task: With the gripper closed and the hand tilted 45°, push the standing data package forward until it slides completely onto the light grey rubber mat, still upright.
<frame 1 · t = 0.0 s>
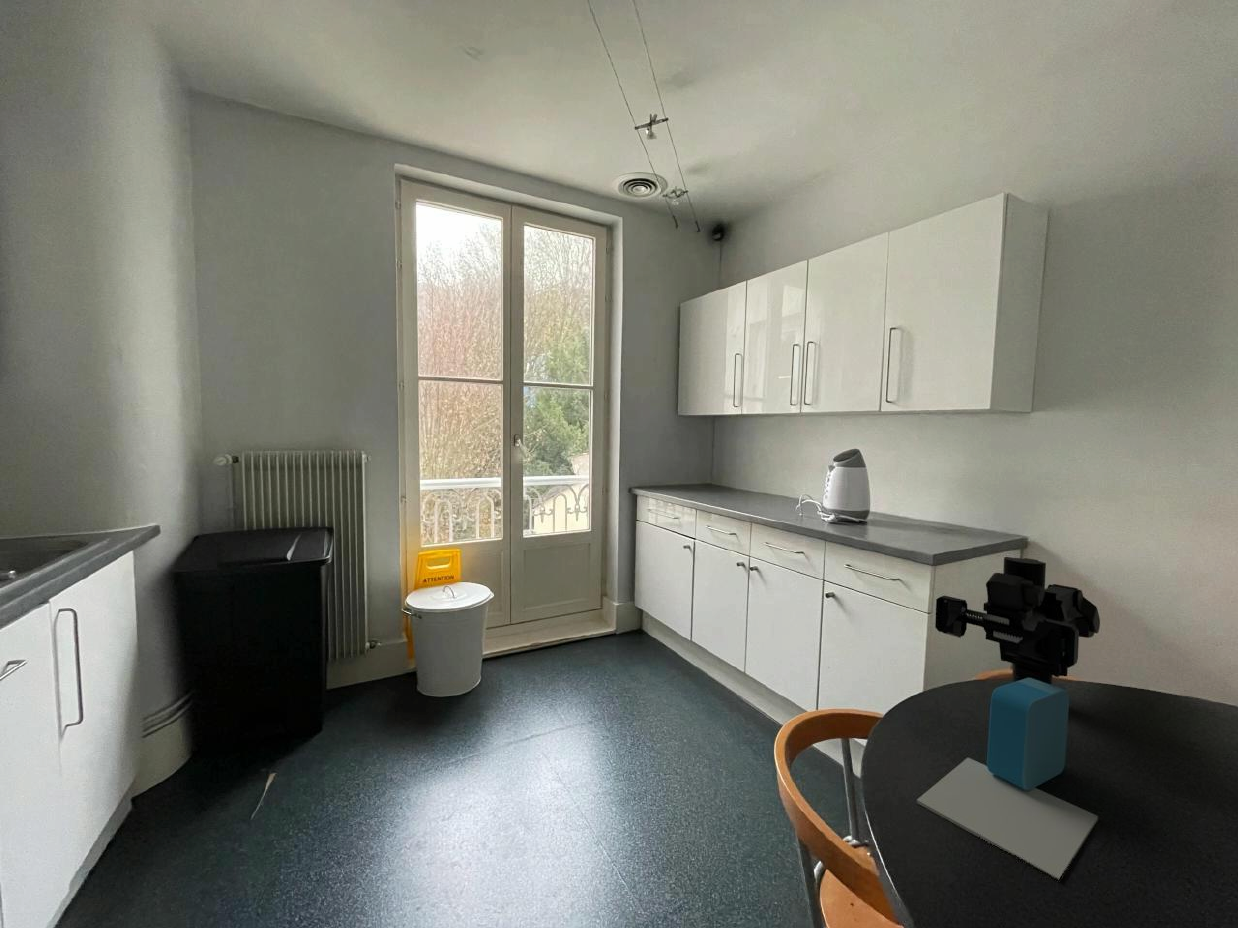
hand: (980, 638, 76), 17 cm above the table, tool horizontal, fingers open, 9 cm apart
mat: (1005, 810, 62), on the table
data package: (1025, 774, 69), on the table, touching mat
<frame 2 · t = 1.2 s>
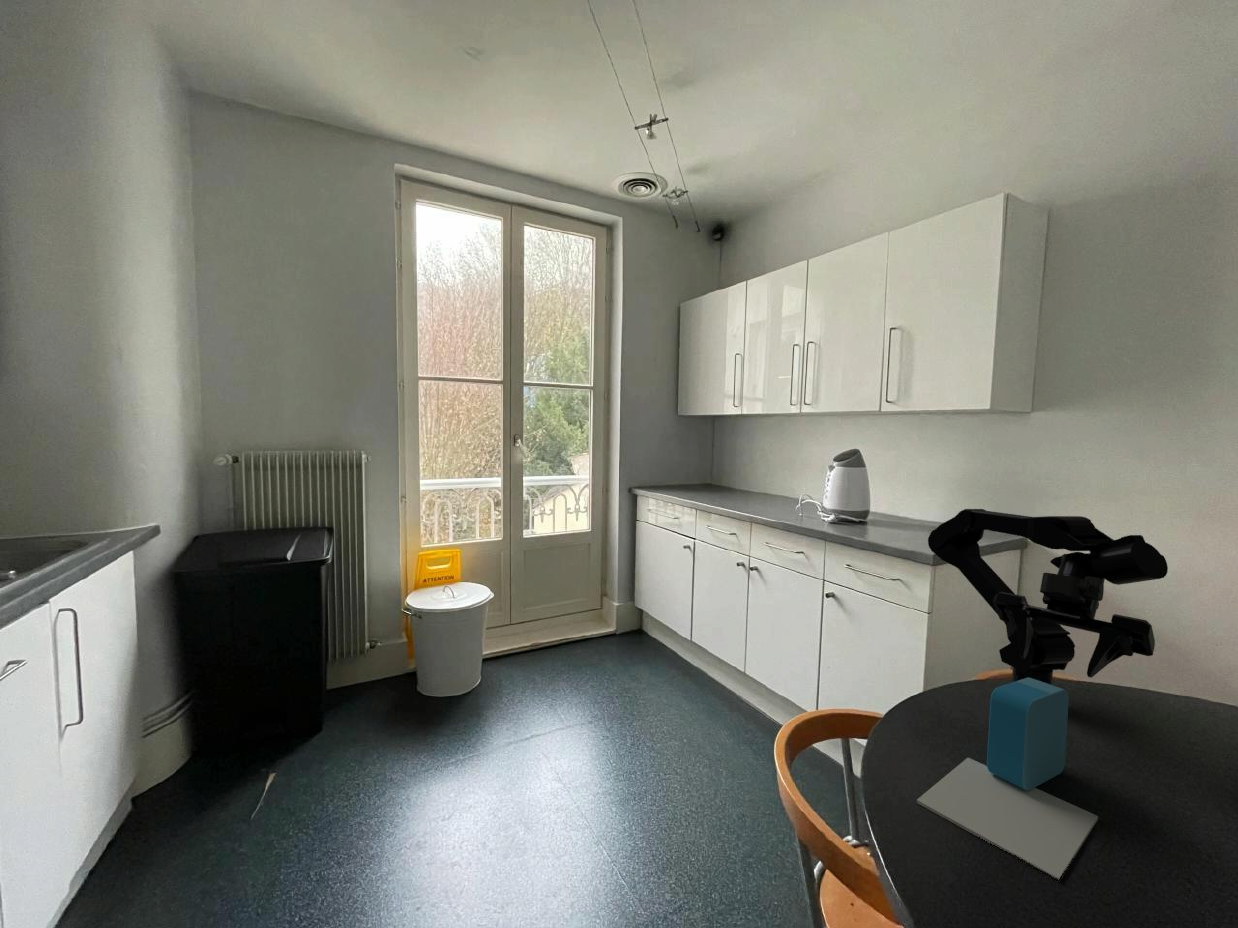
hand: (1054, 666, 76), 13 cm above the table, tool tilted 45°, fingers open, 8 cm apart
nothing on the table moved.
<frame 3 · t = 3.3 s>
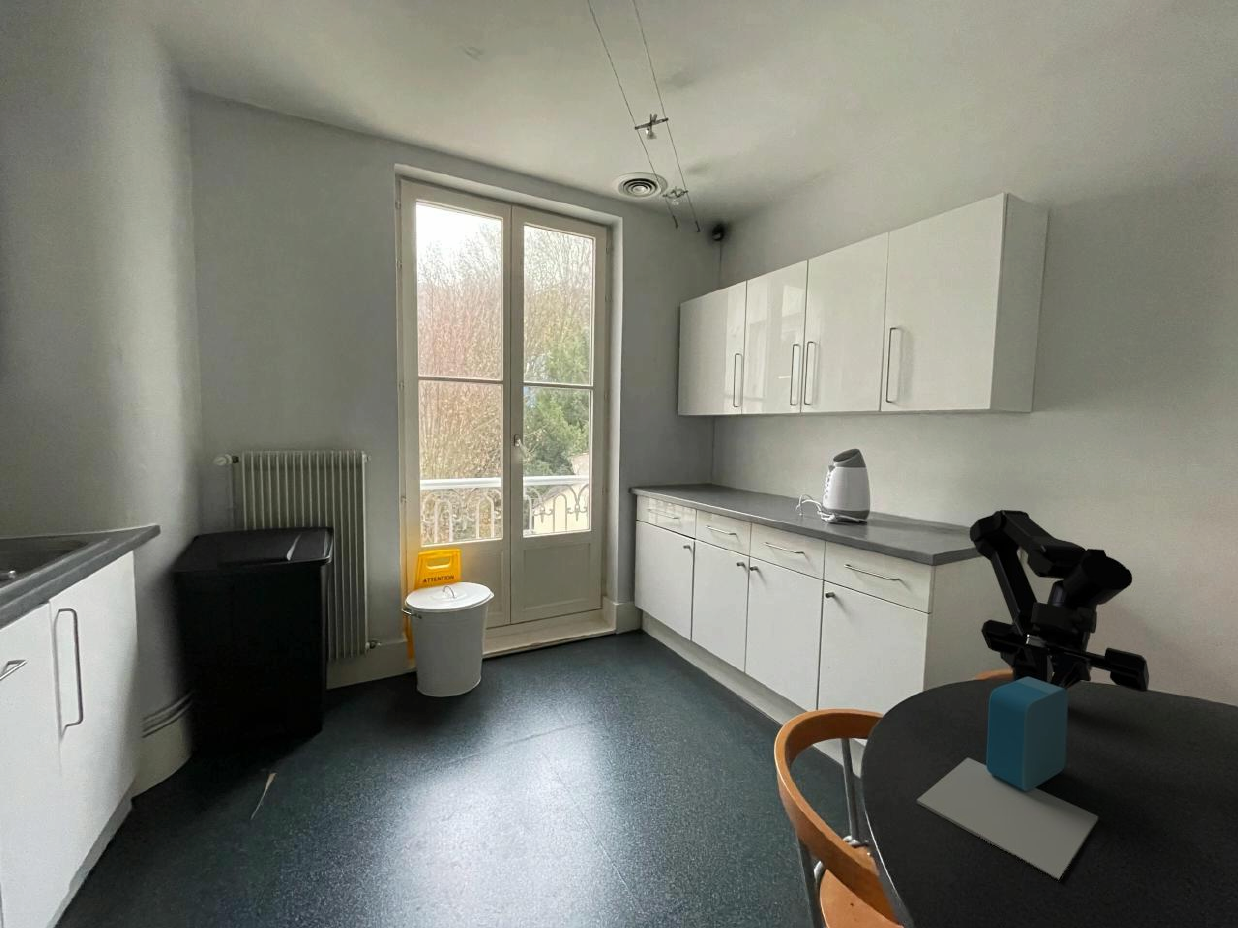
hand: (1045, 701, 72), 9 cm above the table, tool tilted 45°, fingers closed
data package: (1025, 774, 69), on the table, touching gripper, mat
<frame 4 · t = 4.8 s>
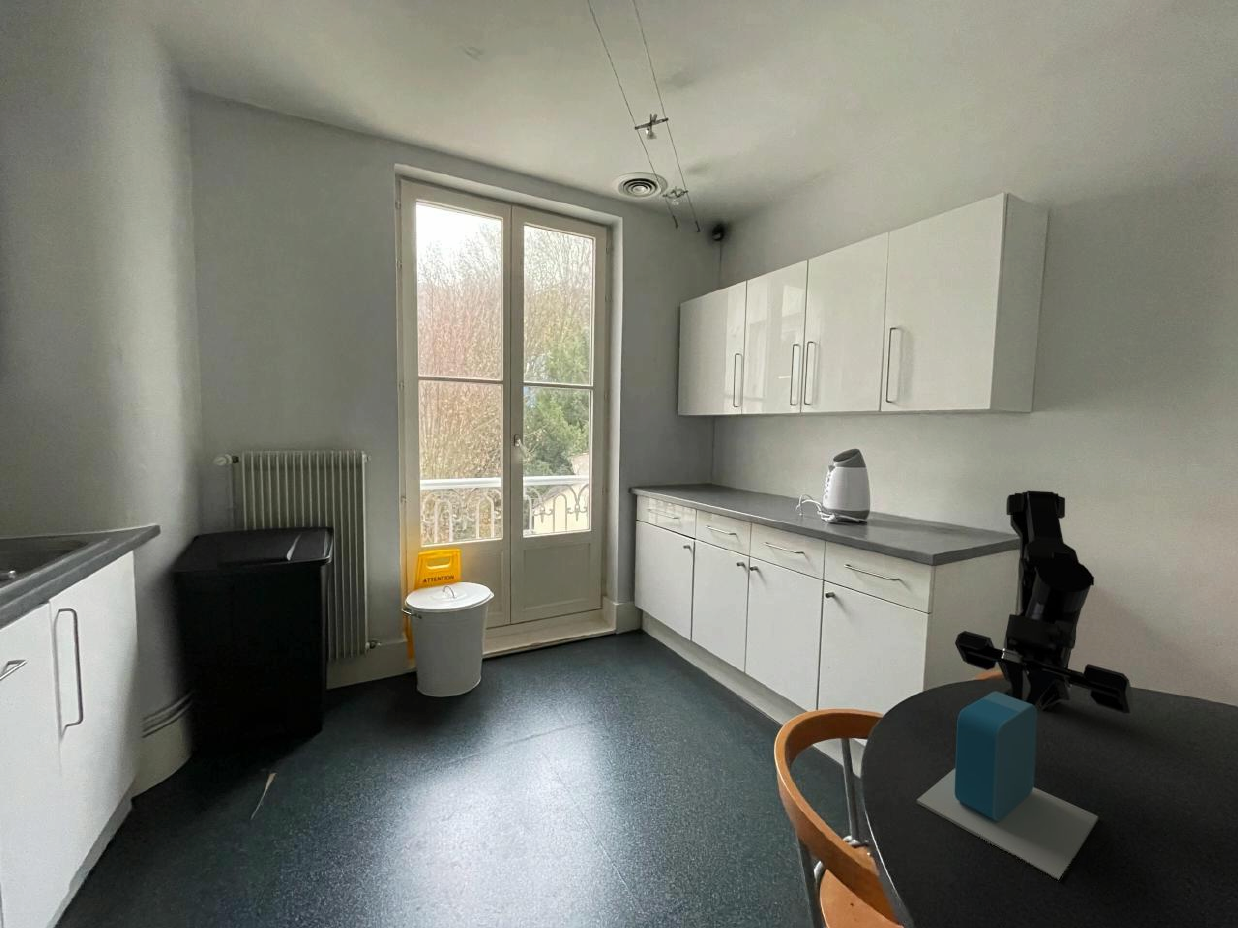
hand: (1019, 721, 67), 9 cm above the table, tool tilted 45°, fingers closed, pressing on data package
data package: (994, 798, 64), resting on mat, touching gripper
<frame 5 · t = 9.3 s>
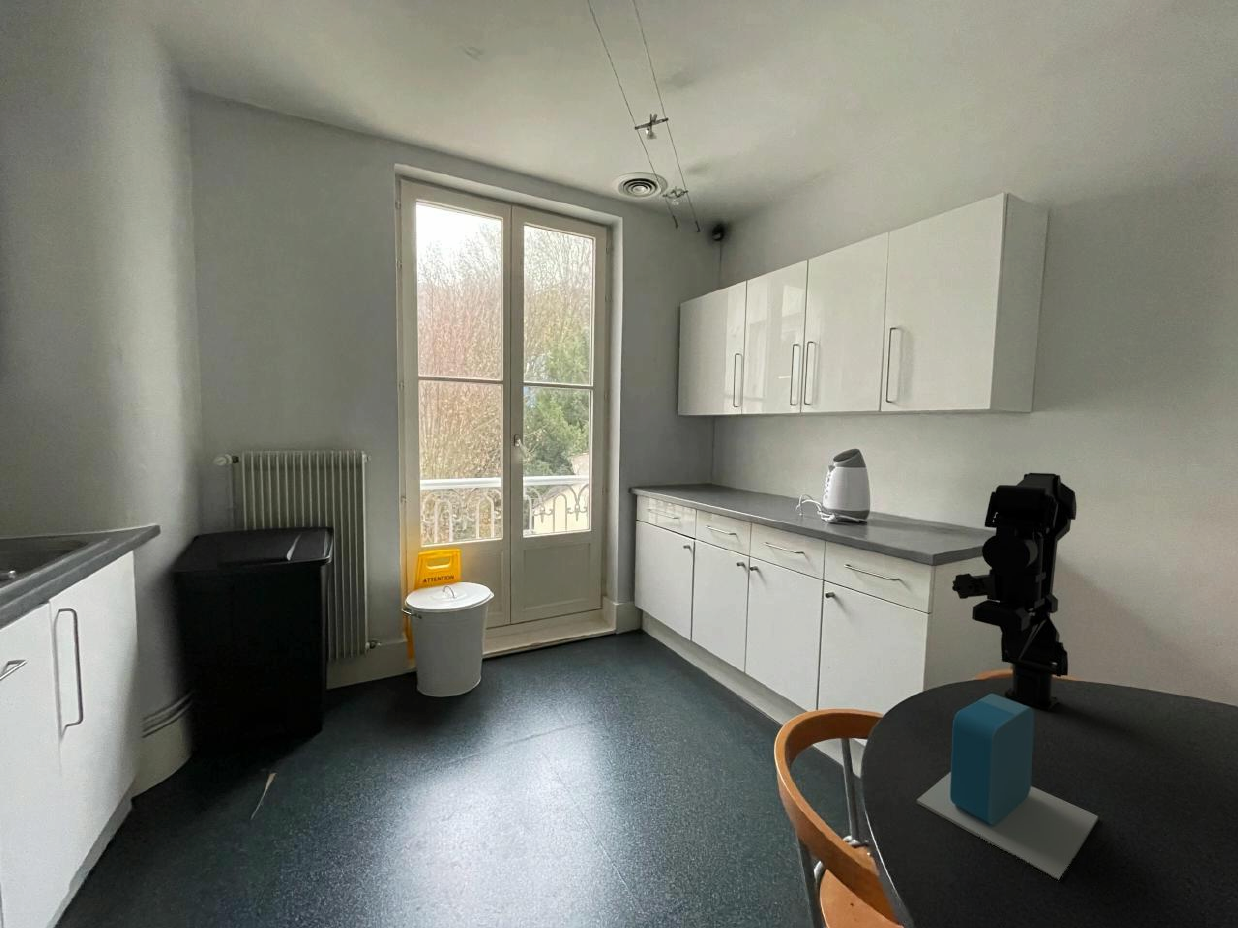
hand: (1014, 659, 80), 12 cm above the table, tool pointing down, fingers closed
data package: (990, 802, 63), resting on mat
at the end: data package inside the target area (1.0 cm from its centre), resting on mat; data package touching mat; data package tilted 0° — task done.
